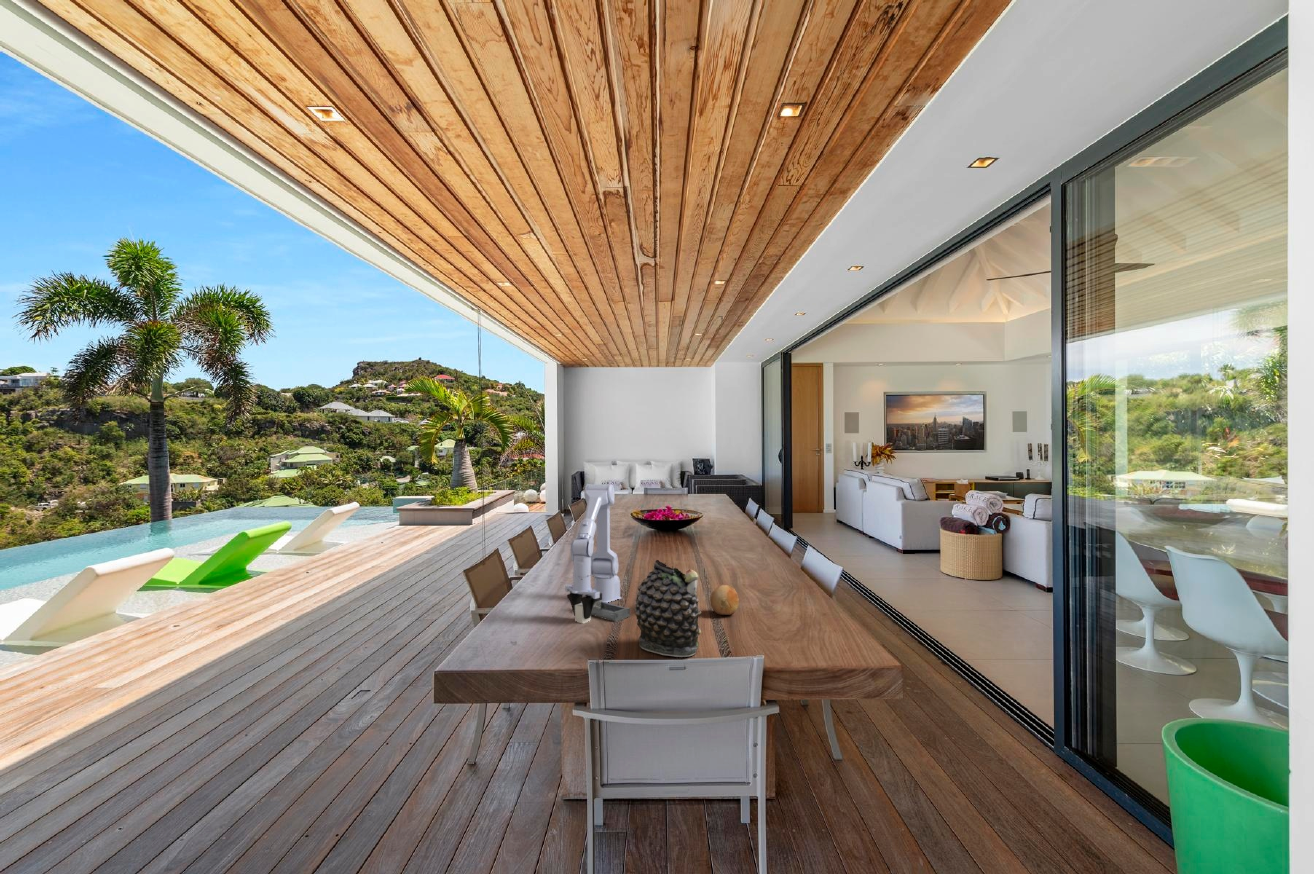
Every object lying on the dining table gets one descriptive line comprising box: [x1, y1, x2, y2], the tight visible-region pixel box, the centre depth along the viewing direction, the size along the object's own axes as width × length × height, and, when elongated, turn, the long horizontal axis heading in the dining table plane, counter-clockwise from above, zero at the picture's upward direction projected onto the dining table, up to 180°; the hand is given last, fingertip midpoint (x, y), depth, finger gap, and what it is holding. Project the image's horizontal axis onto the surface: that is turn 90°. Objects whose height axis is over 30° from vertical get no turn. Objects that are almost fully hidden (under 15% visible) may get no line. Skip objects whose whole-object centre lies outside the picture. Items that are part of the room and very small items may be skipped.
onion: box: [709, 584, 740, 616], centre depth 201 cm, size 10×10×10 cm
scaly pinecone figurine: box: [633, 559, 702, 658], centre depth 168 cm, size 21×15×25 cm
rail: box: [591, 591, 631, 623], centre depth 201 cm, size 7×16×7 cm, turn 50°
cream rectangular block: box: [574, 602, 592, 624], centre depth 194 cm, size 4×4×5 cm
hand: (582, 616), depth 194 cm, fingers closed on cream rectangular block, 4 cm apart
